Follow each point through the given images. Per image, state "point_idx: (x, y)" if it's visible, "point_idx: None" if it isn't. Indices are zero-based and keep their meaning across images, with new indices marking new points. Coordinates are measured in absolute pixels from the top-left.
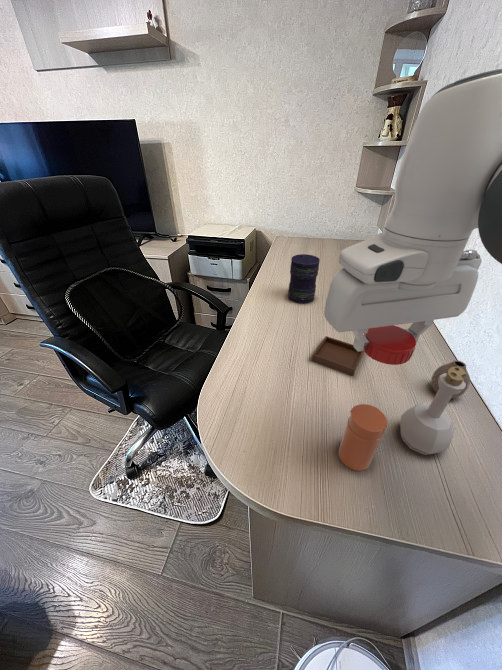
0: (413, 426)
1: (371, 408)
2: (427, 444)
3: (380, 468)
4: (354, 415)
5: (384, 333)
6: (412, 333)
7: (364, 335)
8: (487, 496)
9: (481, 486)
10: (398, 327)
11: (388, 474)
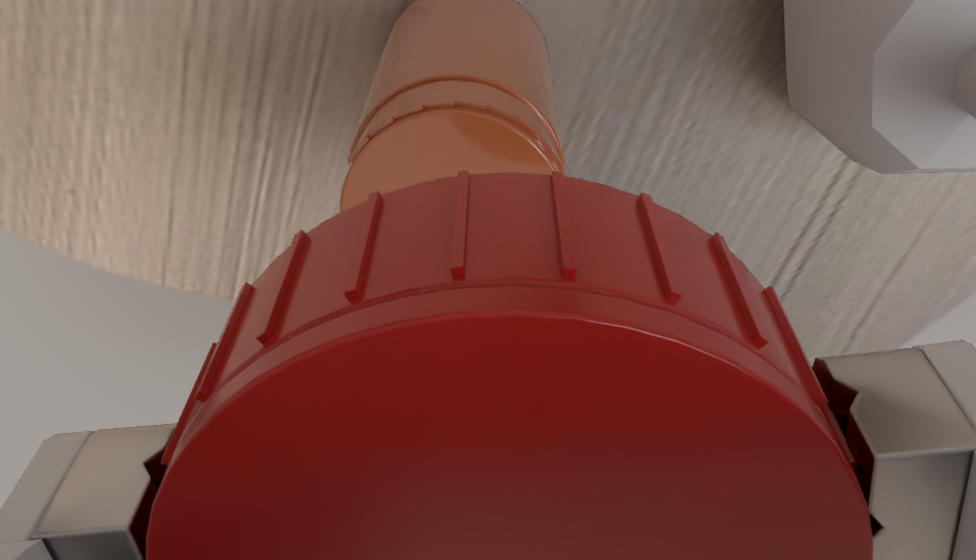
0: (826, 79)
1: (505, 153)
2: (841, 147)
3: (569, 140)
4: (362, 197)
5: (457, 551)
6: (920, 549)
7: (130, 543)
8: (946, 285)
9: (963, 250)
10: (802, 442)
11: (592, 170)
